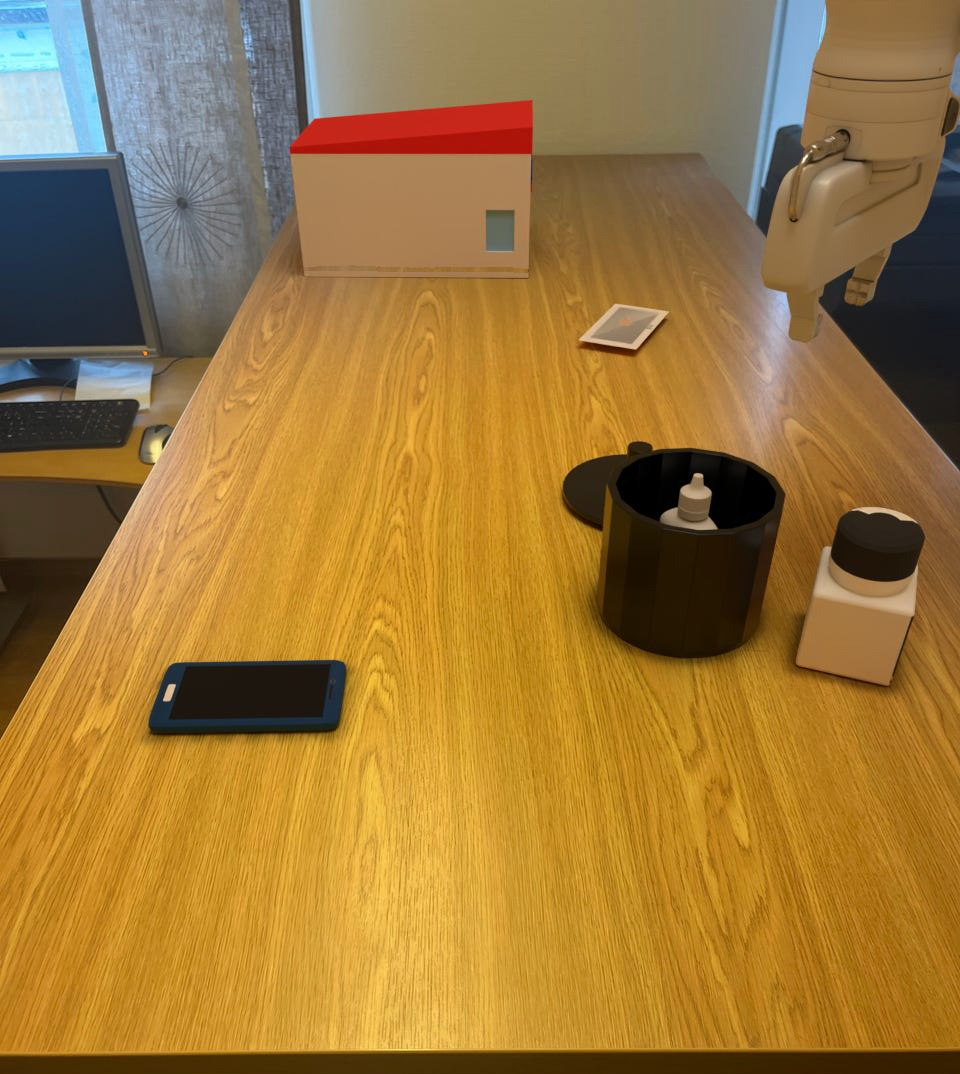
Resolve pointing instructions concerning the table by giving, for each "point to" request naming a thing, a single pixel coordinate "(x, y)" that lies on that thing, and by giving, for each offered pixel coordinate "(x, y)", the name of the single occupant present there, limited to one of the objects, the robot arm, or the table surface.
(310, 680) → the cell phone
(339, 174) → the bookstore
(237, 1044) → the table surface
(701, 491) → the eye dropper bottle
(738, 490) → the tin
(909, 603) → the medicine bottle
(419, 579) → the table surface
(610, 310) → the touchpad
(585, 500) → the tin lid
